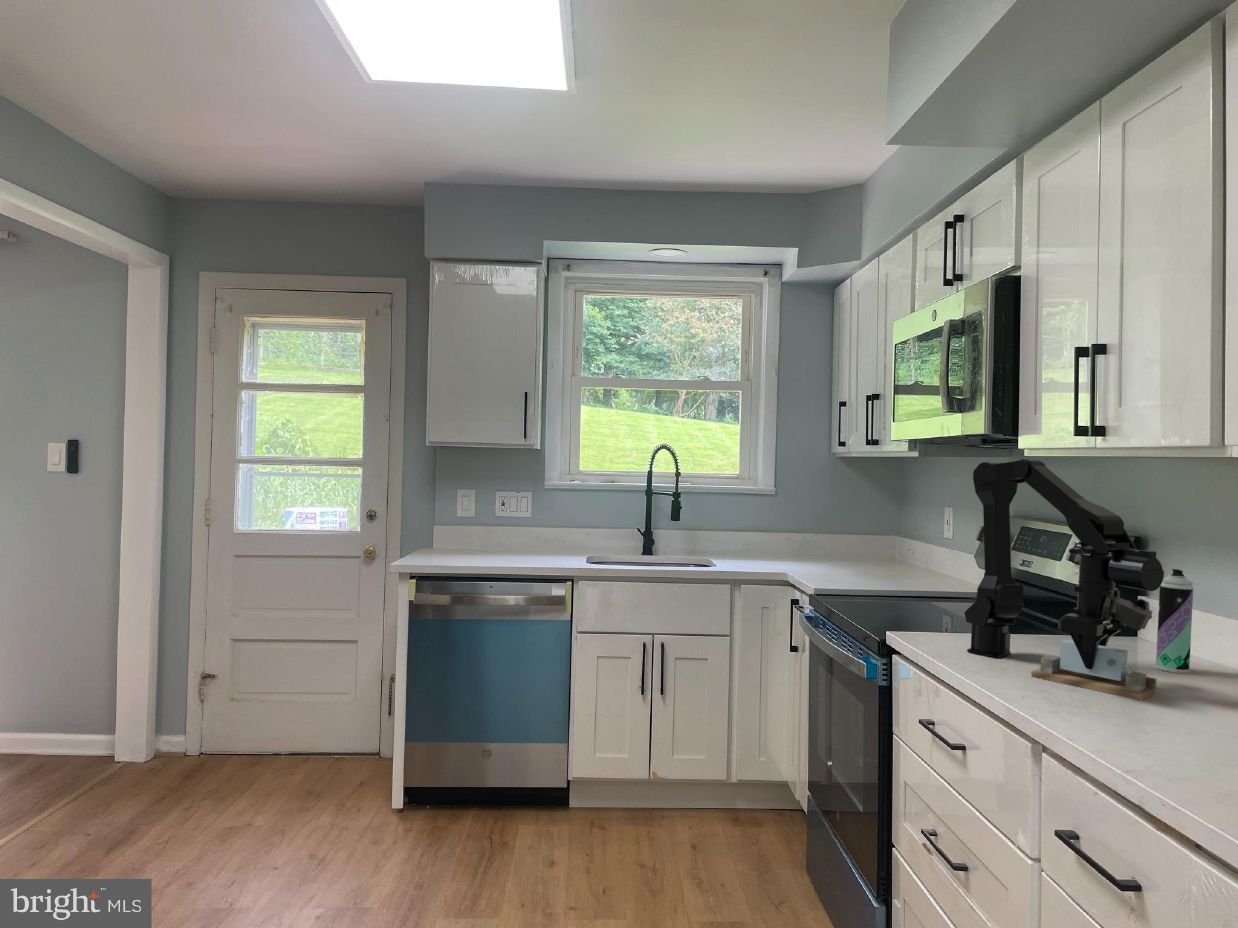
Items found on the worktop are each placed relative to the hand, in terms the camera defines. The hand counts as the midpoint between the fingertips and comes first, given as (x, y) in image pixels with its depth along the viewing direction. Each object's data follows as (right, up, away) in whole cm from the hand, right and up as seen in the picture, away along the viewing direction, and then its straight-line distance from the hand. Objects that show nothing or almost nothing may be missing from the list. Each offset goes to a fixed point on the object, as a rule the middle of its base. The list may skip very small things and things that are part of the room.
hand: (1092, 667), depth 148 cm
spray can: (+24, -4, +14) cm, 28 cm away
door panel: (0, -1, 0) cm, 1 cm away
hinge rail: (0, -3, 0) cm, 3 cm away
